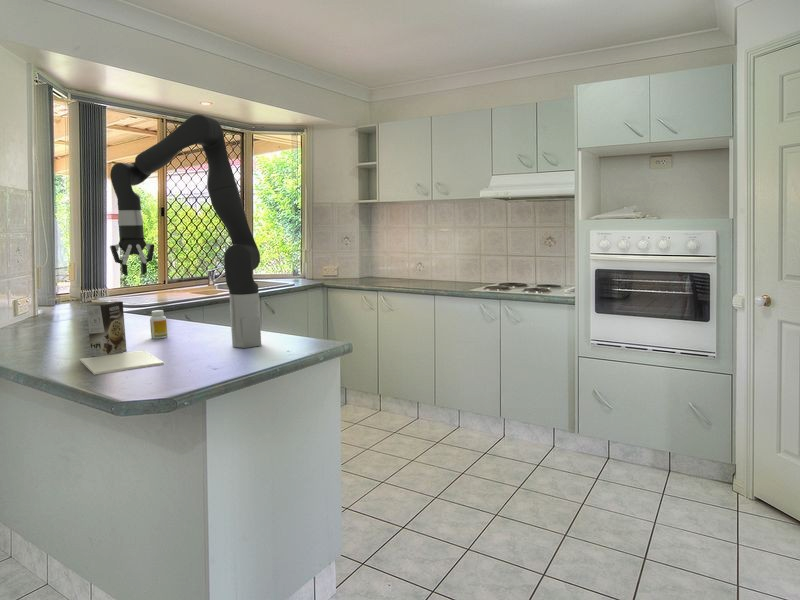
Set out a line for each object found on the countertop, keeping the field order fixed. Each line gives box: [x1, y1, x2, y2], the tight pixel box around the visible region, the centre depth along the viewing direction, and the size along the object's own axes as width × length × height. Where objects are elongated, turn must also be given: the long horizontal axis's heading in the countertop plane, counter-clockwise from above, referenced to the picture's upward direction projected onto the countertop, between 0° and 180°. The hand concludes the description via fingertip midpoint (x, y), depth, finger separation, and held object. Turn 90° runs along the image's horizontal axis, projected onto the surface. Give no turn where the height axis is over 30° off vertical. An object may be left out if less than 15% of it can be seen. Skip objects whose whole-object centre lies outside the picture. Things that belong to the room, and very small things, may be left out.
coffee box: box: [86, 301, 128, 357], centre depth 184 cm, size 9×6×16 cm
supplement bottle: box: [149, 309, 168, 340], centre depth 211 cm, size 5×5×10 cm
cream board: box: [79, 350, 165, 376], centre depth 172 cm, size 22×18×1 cm
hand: (134, 274), depth 199 cm, fingers open, 5 cm apart
